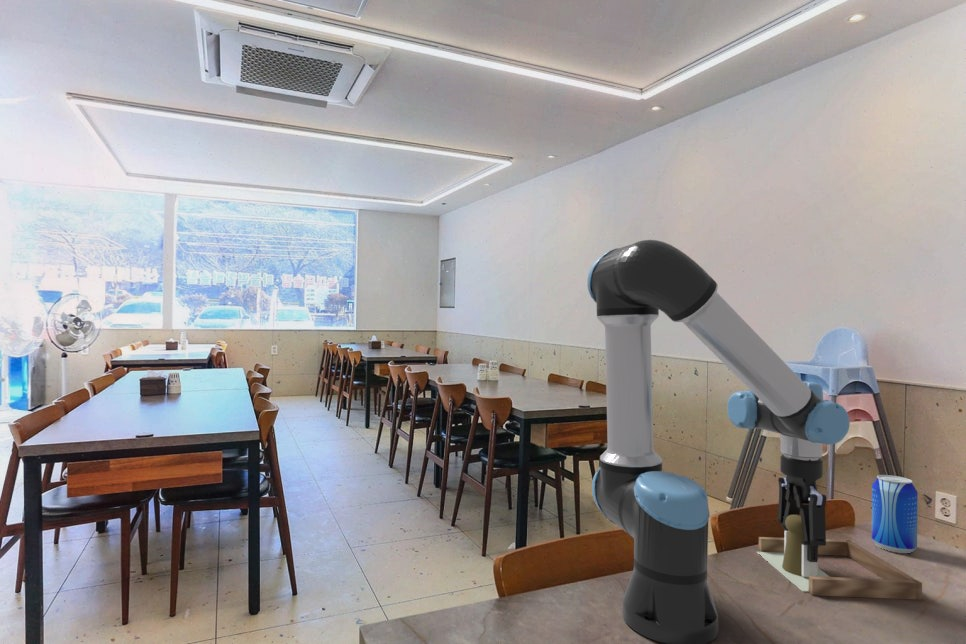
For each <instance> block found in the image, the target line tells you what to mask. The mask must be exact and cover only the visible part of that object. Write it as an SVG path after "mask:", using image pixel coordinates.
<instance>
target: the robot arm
mask: <svg viewBox="0 0 966 644" xmlns="http://www.w3.org/2000/svg"><path fill="white" fill-rule="evenodd" d="M586 280H587V281H586V282H587V290H588V293H589V295H590V297H591V299H592V300H593V301H594V303H596V319H598V320H599V322H600V323H602V324H603V326H604V337H605V338H604V341H605V343H604V344H605V378H606V379H605V383H606V384H605V385H606V386H605V387H606V393H605V395H606V428H607V431H606V432H607V433H606V434H607V439H606V440H607V448H606V450H605V451H604V452H603V453H602V454H601V455H599V467H598V470H597V471H596V472H595V473H594V475H593V478H592V482H591V493H592V498H593V501H594V503H595V505H596V507H597V509H599V512H601V513H602V515H603V516H604V517H605V518H606V519H608V520H609V522H610V523H613V524H614V525H616V526H618V527H619V528H620V529H622V530H623V531H624V532H625V533H627V534H628V535H629V536H630V537H632V538H633V540H634V541H633V545H634V546H633V570H632V573H631V575H630V578H629V580H628V584H627V587H626V589H625V592H624V595H623V599H622V609H621V610H622V611H621V612H622V613H621V614H622V618H623V620H624V622H625V624H627V625H628V626H629V628H631V629H632V630H634V631H635V632H637V634H640V635H641V636H643V637H646V638H648V639H650V640H653V641H656V642H659V643H662V644H708V643H710V642H712V641H715V639H716V638H717V637H718V636H719V635H718V634H719V614H718V611H717V608H716V605H715V602H714V599H713V595H712V591H711V589H710V586H709V582H708V557H709V556H708V555H709V553H708V552H709V550H708V549H709V548H708V547H709V519H710V509H709V508H710V507H709V498H708V494H707V492H706V490H705V488H704V487H703V486H702V485H701V484H700V483H698V482H697V481H696V480H694V479H691V477H687V476H684V475H678V474H677V473H674V472H668V471H663V459H662V457H661V456H660V455H659V454H658V453H657V452H656V451H655V449H654V420H653V419H654V417H653V413H654V411H653V374H652V371H653V370H652V334H651V332H652V330H651V329H652V328H651V326H652V324H653V323H654V322H655V321H656V320H657V319H658V318H659V317H660V315H659V312H660V311H661V312H663V313H664V315H666V316H667V317H668V319H670V320H671V321H672V322H673V323H683V324H684V325H685V327H687V329H688V330H690V331H691V332H692V333H693V335H695V336H696V338H698V340H700V342H701V343H702V344H704V346H706V347H707V348H708V349H709V350H710V352H712V353H713V355H715V356H716V357H717V358H718V359H719V360H720V361H721V362H722V363H723V364H724V365H725V366H726V368H728V370H730V371H731V372H732V373H733V375H735V377H736V378H737V379H739V380H740V381H741V382H742V383H743V384H744V385H745V386H746V387H747V389H749V390H743V391H740V390H739V391H736V392H734V393H732V394H731V395H730V397H729V398H728V400H727V404H726V406H727V409H726V411H727V412H726V413H727V416H728V419H729V421H730V422H731V423H732V425H734V426H735V427H736V428H739V429H748V430H753V429H755V430H756V429H757V430H764V431H768V432H771V433H777V434H780V445H779V446H780V447H779V449H780V453H782V454H781V456H780V463H779V464H780V468H779V469H780V473H782V474H783V475H784V476H786V477H778V480H777V481H778V487H779V489H778V490H779V492H778V510H777V511H778V514H777V522H778V524H781V525H782V526H781V527H782V529H783V531H784V537H783V538H784V553H785V547H786V541H787V535H788V529H787V528H786V525H785V520H786V518H787V517H788V516H789V515H801V520H802V527H803V534H804V540H805V542H804V541H801V543H802V576H803V577H809V576H817V568H819V567H818V563H819V561H818V560H819V557H818V556H819V555H818V546H819V545H821V546H825V545H826V539H827V536H826V535H827V533H826V531H827V530H826V529H827V528H826V526H827V525H826V503H827V496H826V494H821V493H819V492H818V487H817V480H819V479H822V477H823V475H824V473H823V471H824V470H823V468H824V466H823V460H822V459H821V458H822V457H823V445H835V444H836V445H837V444H838V443H840V442H841V441H842V440H843V439H844V438H846V436H847V434H848V433H849V431H850V426H851V425H850V424H851V423H850V422H851V421H850V417H849V414H848V411H847V410H846V409H845V407H844V406H843V405H841V404H839V403H837V402H833V401H831V400H829V399H824V392H823V386H822V385H821V384H820V383H818V382H815V381H814V382H813V381H805V380H802V379H801V378H800V377H799V376H798V375H797V373H796V372H794V371H793V370H792V368H791V367H789V365H788V364H787V363H786V362H785V361H784V360H783V359H782V358H781V357H780V356H779V355H778V354H777V353H776V352H775V351H774V350H773V349H772V348H771V347H770V345H768V344H767V342H765V340H764V339H762V337H761V336H760V335H759V334H758V333H757V332H756V331H755V330H754V329H753V328H752V327H751V326H750V325H749V324H748V323H747V322H746V321H745V319H743V318H742V316H740V315H739V314H738V313H737V312H736V311H735V309H733V307H731V305H730V304H729V303H728V302H727V301H726V300H725V299H724V298H723V297H722V296H721V295H720V294H719V293H718V288H719V286H718V282H716V280H714V279H713V277H712V276H711V275H710V274H709V273H708V272H707V271H706V270H705V269H704V268H703V267H702V266H700V265H699V264H698V262H696V261H695V260H694V259H692V258H691V257H690V256H689V255H687V254H686V253H685V252H683V251H682V250H680V249H678V248H677V247H675V246H673V245H672V244H669V243H667V242H664V241H661V240H656V239H644V240H640V241H636V242H634V243H632V244H629V245H625V246H622V247H618V248H617V247H616V248H614V249H612V250H609V251H607V252H606V253H604V254H602V255H601V256H599V258H597V259H596V260H595V262H593V264H592V266H590V270H589V272H588V275H587V279H586Z"/></svg>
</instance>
